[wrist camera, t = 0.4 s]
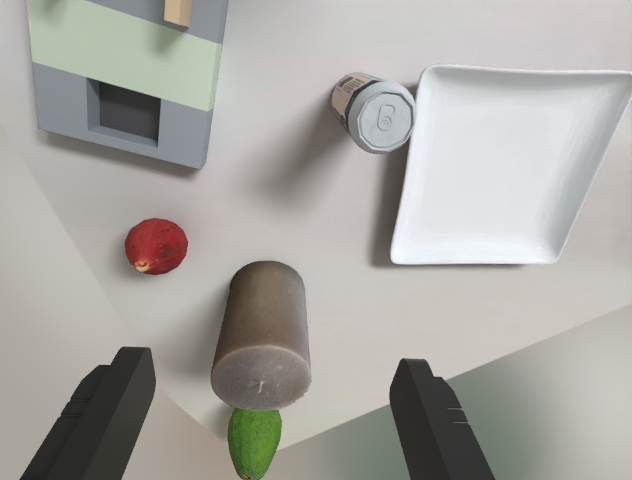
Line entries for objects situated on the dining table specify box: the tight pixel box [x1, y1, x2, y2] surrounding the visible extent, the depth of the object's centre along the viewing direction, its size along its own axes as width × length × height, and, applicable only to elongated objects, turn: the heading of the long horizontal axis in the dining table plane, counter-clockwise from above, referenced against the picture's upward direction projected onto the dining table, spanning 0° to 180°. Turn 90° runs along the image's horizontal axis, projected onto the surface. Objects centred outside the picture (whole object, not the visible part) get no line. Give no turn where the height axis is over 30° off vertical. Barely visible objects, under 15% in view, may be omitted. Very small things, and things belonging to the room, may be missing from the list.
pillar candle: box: [211, 261, 312, 411], centre depth 37 cm, size 10×10×15 cm
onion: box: [125, 218, 188, 275], centre depth 34 cm, size 6×6×8 cm
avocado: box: [227, 408, 282, 480], centre depth 49 cm, size 8×8×12 cm
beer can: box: [331, 73, 417, 154], centre depth 27 cm, size 5×5×12 cm
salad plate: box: [390, 64, 632, 265], centre depth 36 cm, size 21×21×3 cm
